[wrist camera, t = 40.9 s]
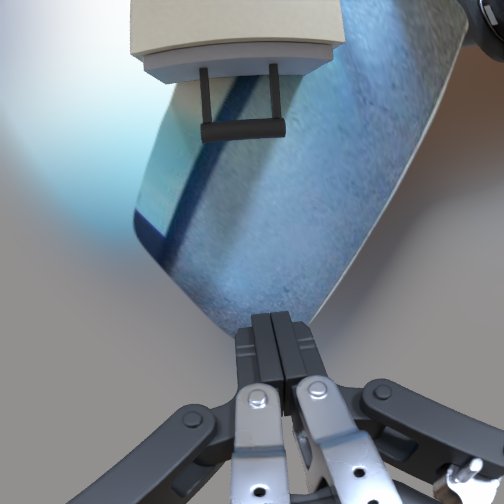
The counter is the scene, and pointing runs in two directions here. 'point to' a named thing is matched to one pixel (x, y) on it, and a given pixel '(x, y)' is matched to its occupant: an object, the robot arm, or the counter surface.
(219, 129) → the drawer
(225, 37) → the cabinet
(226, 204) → the counter surface
